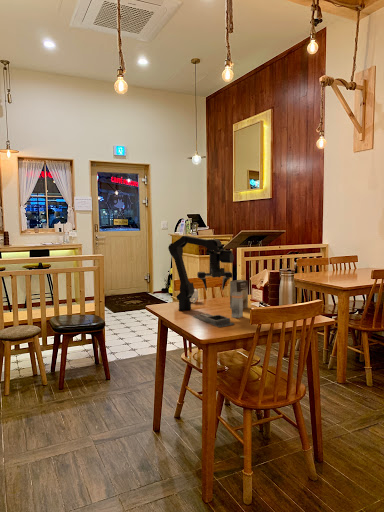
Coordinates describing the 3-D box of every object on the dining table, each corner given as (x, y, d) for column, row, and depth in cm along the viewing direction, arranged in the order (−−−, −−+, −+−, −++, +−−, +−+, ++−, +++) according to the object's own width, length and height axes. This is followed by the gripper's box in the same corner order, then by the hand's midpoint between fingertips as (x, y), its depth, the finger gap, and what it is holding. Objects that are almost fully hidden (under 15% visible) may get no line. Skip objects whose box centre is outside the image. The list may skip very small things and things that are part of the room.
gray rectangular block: (231, 317, 198) (231, 293, 197) (235, 315, 202) (235, 291, 201) (239, 318, 196) (239, 293, 195) (243, 316, 200) (243, 292, 199)
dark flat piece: (193, 316, 200) (193, 312, 200) (207, 314, 204) (207, 310, 204) (219, 327, 179) (219, 322, 179) (234, 324, 184) (234, 319, 184)
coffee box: (237, 309, 214) (237, 282, 213) (229, 308, 219) (229, 281, 218) (248, 307, 220) (248, 280, 219) (240, 305, 225) (239, 279, 224)
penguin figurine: (197, 289, 232) (178, 291, 234) (198, 303, 233) (179, 304, 234) (198, 287, 238) (179, 289, 240) (199, 300, 239) (181, 302, 241)
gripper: (199, 264, 196) (199, 293, 198) (234, 263, 198) (234, 292, 199) (197, 261, 207) (197, 289, 209) (230, 261, 209) (230, 288, 210)
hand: (214, 290), depth 206 cm, fingers open, 9 cm apart
